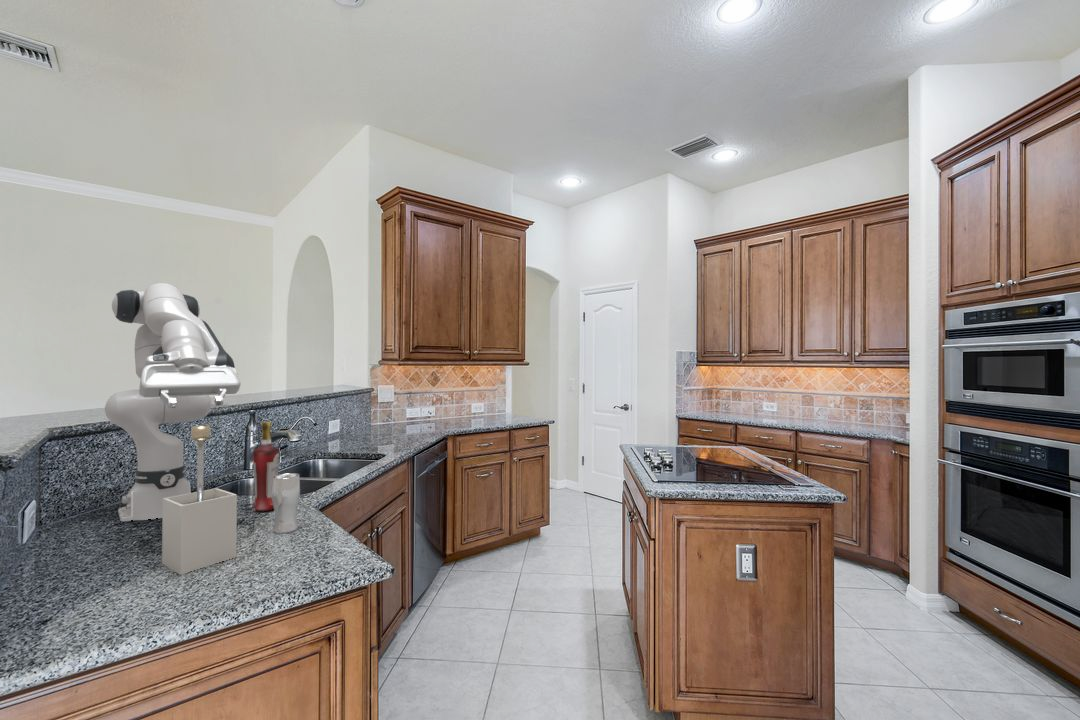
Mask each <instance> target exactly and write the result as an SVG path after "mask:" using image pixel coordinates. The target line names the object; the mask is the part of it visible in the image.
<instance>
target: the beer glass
mask: <svg viewBox="0 0 1080 720" xmlns="http://www.w3.org/2000/svg"><path fill="white" fill-rule="evenodd" d="M300 479H301V478H300V473H296V472H295V473H292V472H291V473H282V474H281V473H280V474H278V475H276V476H274V477H273V482H272V502H273V507H274V509H273V513H274V526H273V532H274V533H275V534H287V533H288V534H289V533H292V532H295V531H297V530H298V529H299V523H298V517H297V515H298V508H299V503H300V496H301V481H300Z"/></svg>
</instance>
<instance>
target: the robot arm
mask: <svg viewBox="0 0 1080 720" xmlns="http://www.w3.org/2000/svg"><path fill="white" fill-rule="evenodd" d="M111 309H112V312H113V314H114V316H115V318H116V319H117V320H118V321H119V322H123V323H126V324H133V323H134V324H140V326H139V327H138V329H137V330H136V334H135V338H134V361H135V363H134V364H135V373H136V376H137V377H138V378H139V380H140V381H139V387H138V388H139V389H130V390H124V391H120V392H116V393H113V394H112V395H111V396H110V397H109V398H108V399H107V401H106V402H105V405H104V406H105V407H104V412H105V416H106V417H107V420H109V421H110V422H111V423H112V424H114V425H115V426H116V427H119V428H121V429H123V430H124V431H125V432H126V433H128V435H130V437H131V439H132V440H133V442H134V444H135V448H136V455H137V470H136V471H135V475H134V482H135V483H134V485H133V486H132V487H131V488H130V490H129V491H128V493H127V494H126V495H122V496H121V503H122V504H126V506H123V507H119V508H118V510H117V513H118V517H119V520H120V522H131V520H133V521H149V520H148V519H151V520H157V519H156V518H158V519H162V518H163V498H168V497H173V496H178V495H183V494H189V493H192V492H191V491H192V490H191V483H190V481H189V480H187V479H186V478H185V476H186V467H185V465H184V443H183V440H181V438H179V437H178V436H175V435H173V434H169V433H167V432H162V431H161V430H160V428H159V425H164V424H175V423H189V422H192V421H193V422H194V421H197V420H201V419H204V418H206V417H207V416H208V414H209V413H210V411H211V410H212V403H213V402H212V399H211V395H212V396H214V395H215V396H214V397H215V399H214V400H213V401H214V404H215V406H223V405H224V398H225V397H226V395H235V394H237V393H238V392H239V390H240V389H241V388H240V387H241V381H240V378H239V376H238V373H237V369H236V368H235V366H236V365H235V362H234V360H233V358H232V356H230V354H229V353H228V352H226V350H225V349H224V347H223V345H222V344H221V343H220V341H219V339H218V337H217V336H216V334H215V333H214V331H213V330H212V328H211V327H210V325H209V324H208V323H207V321H205V320H203V319H201V318H200V317H199V316H200V314H201V313H200V312H201V309H200V305H199V302H198V300H197V299H196V298H195V297H194V296H191V295H189V294H184V293H183V294H182V291H180V290H179V288H177V287H176V286H174V285H173V284H170V283H165V282H156V283H153V284H151V285H149V286H147V288H146V289H145V290H134V289H126V290H125V289H124V290H120V291H118V292H117V293H115V296H114V298H113V300H112V302H111Z"/></svg>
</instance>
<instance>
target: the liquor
mask: <svg viewBox="0 0 1080 720" xmlns="http://www.w3.org/2000/svg"><path fill="white" fill-rule="evenodd" d="M271 430H272V421H262V422H261V431H262V432H261V441H260V447H258V448H255V449H254V450H253V451H252V459H253V460H252V463H253V464H252V466H253V467H252V468H253V480H254V483H253V484H254V505H253V509H254V510H256V511H257V512H258V511H267V512H270V511H269V510H271V511H273V510H274V507H273V502H272V482H273V477H274V476H276V475H279V467H280V464H279V462H280V449H279V448H278V447H276V446H274V445H273V444H272V435H271ZM272 509H273V510H272Z"/></svg>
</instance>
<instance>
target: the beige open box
mask: <svg viewBox="0 0 1080 720" xmlns="http://www.w3.org/2000/svg"><path fill="white" fill-rule="evenodd" d="M212 498H214V499H212ZM207 499H210V500H207ZM203 500H205V501H201V502H197V491H194V492H191V493H189V494H183V495H178V496H173V497H168V498H163V518H161V519H162V531H161V533H162V534H161V536H162V537H161V564H162V565H163V566H166V567H167V568H169V569H170V570H171V571H174V572H175V573H176V574H178V575H180V576H182V574H183V575H185V573H186V574H188V572H189V573H191V572H190V571H192V572H195V571H198V570H197V569H199V570H201V569H200V568H202V569H204V568H203V567H205V568H207V567H206V566H208V567H210V566H209V565H211V566H214V565H213V564H215V563H218V564H220V563H219V562H221V563H223V562H222V561H224V562H227V561H230V560H233V559H232V558H234V559H236V558H237V541H238V540H237V539H238V538H237V537H238V536H237V533H238V532H237V530H238V529H237V525H238V524H237V522H238V521H237V518H238V516H237V515H238V514H237V513H238V512H237V509H238V507H237V506H238V503H237V502H238V494H236V493H233V492H230V491H228V490H223V489H220V488H218V487H216V488H215V487H213V488H210V489H205V490H204V489H203ZM193 502H196V503H193ZM188 503H191V504H188ZM183 504H186V505H183ZM235 557H236V558H235ZM229 559H230V560H229ZM226 560H227V561H226ZM215 565H216V564H215ZM194 570H195V571H194Z"/></svg>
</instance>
